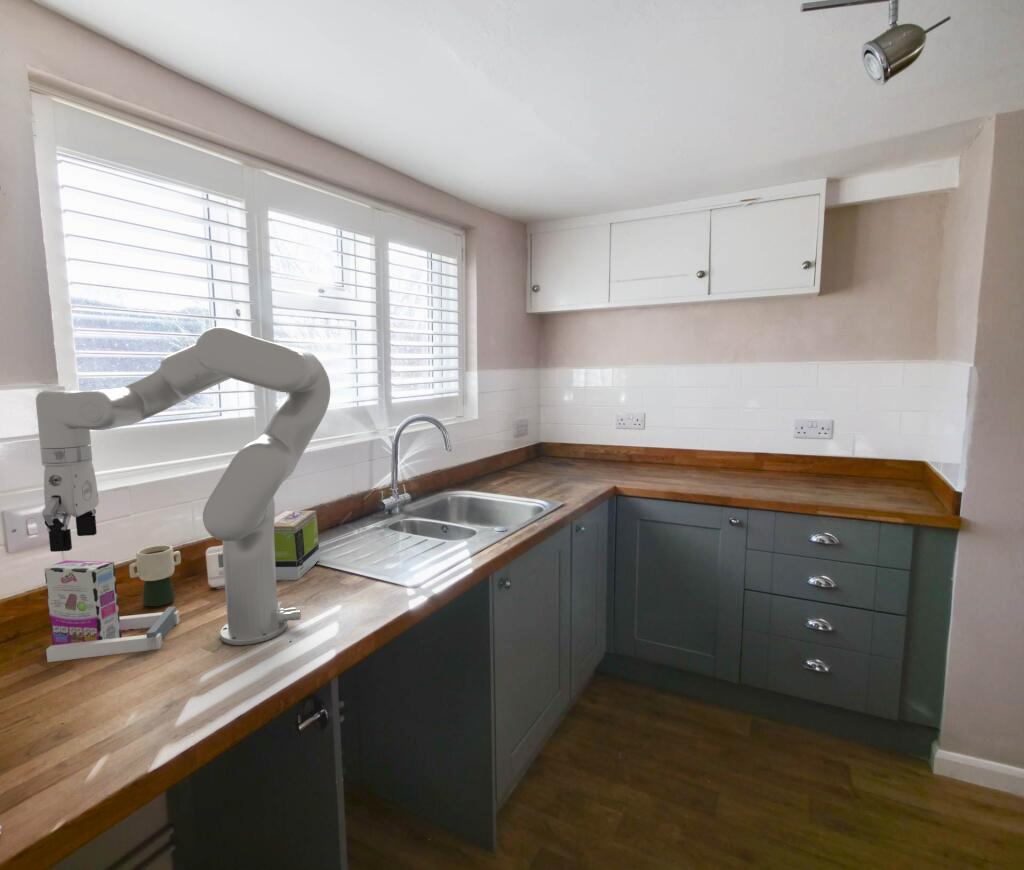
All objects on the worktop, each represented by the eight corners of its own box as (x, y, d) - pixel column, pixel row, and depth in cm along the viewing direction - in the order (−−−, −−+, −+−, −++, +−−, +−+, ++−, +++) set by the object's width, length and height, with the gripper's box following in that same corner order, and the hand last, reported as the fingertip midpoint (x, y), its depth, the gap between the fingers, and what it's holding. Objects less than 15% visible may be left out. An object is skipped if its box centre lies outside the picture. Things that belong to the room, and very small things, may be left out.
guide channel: (179, 621, 119) (178, 606, 119) (159, 648, 107) (158, 631, 107) (79, 632, 114) (77, 616, 114) (47, 662, 103) (45, 644, 102)
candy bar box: (123, 639, 111) (115, 561, 109) (102, 652, 106) (93, 570, 104) (75, 636, 113) (66, 558, 111) (51, 648, 108) (42, 567, 106)
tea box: (286, 560, 157) (282, 509, 155) (320, 560, 156) (318, 509, 154) (259, 580, 142) (256, 524, 140) (298, 581, 141) (295, 525, 139)
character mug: (175, 592, 135) (171, 540, 133) (191, 598, 131) (187, 545, 129) (125, 609, 125) (120, 553, 124) (141, 616, 122) (135, 559, 120)
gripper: (66, 462, 98) (74, 556, 100) (110, 448, 114) (116, 528, 116) (15, 463, 96) (25, 559, 98) (67, 449, 112) (74, 531, 114)
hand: (74, 542), depth 107 cm, fingers open, 9 cm apart
